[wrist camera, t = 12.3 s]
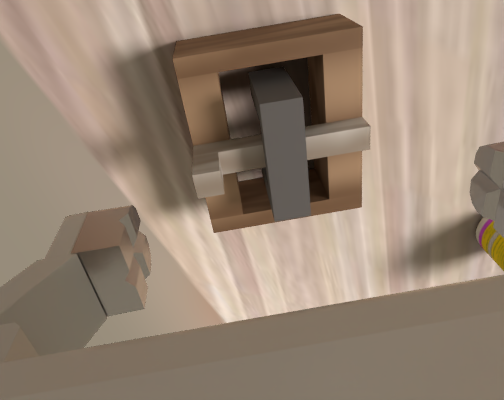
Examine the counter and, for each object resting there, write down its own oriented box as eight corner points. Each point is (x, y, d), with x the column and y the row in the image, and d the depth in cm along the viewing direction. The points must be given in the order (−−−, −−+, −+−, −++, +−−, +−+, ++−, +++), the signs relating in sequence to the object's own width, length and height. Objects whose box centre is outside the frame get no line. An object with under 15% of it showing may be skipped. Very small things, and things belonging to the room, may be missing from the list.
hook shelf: (176, 41, 35) (167, 78, 26) (339, 13, 35) (388, 41, 26) (212, 198, 44) (215, 269, 35) (343, 176, 44) (381, 239, 35)
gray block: (248, 72, 35) (259, 104, 28) (283, 66, 35) (302, 97, 29) (262, 174, 41) (274, 221, 34) (292, 169, 41) (311, 215, 34)
